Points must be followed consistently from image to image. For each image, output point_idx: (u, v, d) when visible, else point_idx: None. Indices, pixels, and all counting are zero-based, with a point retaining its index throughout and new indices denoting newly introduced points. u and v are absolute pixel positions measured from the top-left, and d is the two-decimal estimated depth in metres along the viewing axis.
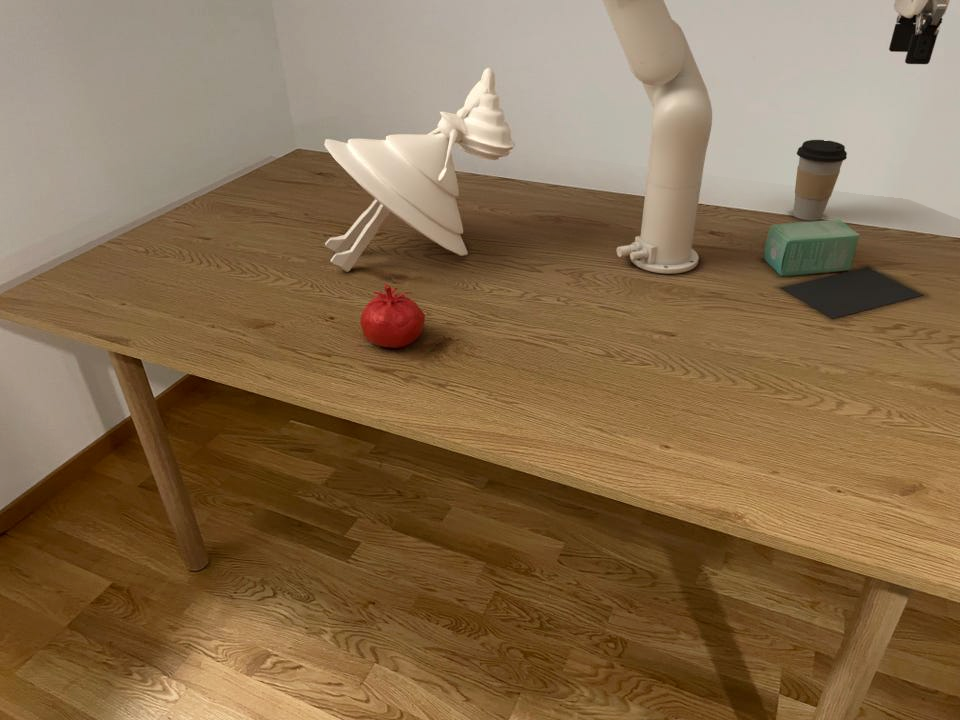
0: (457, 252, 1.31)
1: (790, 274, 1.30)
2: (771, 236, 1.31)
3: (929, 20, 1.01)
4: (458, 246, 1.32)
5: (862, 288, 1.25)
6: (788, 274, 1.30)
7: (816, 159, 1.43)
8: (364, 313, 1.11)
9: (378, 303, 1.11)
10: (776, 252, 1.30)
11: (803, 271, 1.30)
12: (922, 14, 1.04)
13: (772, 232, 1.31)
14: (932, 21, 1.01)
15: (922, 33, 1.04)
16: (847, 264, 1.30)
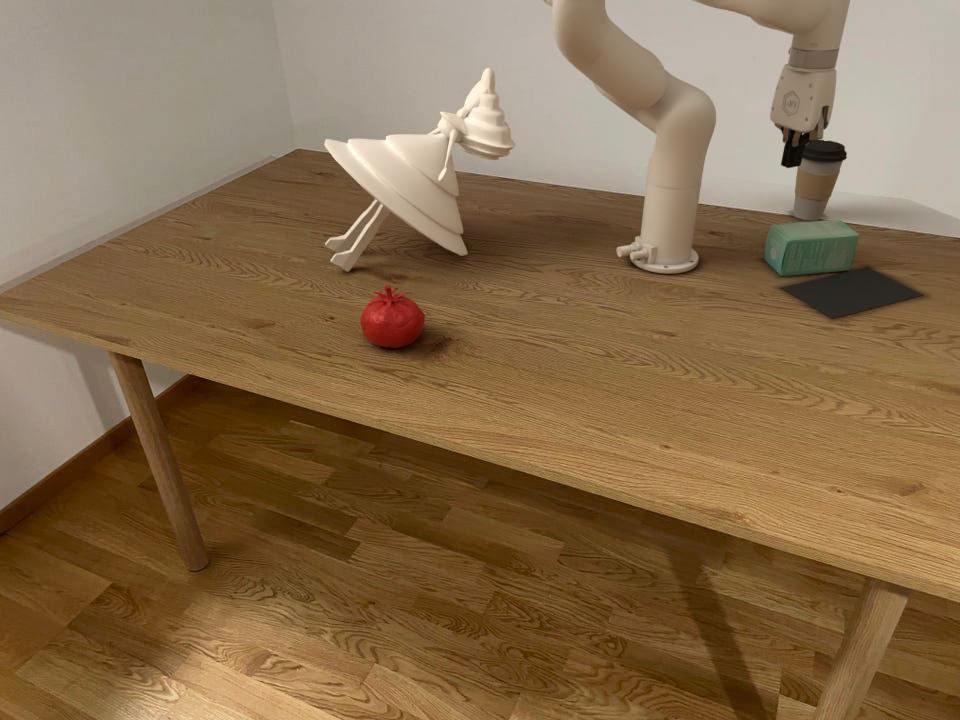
0: (457, 252, 1.31)
1: (790, 274, 1.30)
2: (771, 236, 1.31)
3: (806, 139, 1.26)
4: (458, 246, 1.32)
5: (862, 288, 1.25)
6: (788, 274, 1.30)
7: (816, 159, 1.43)
8: (364, 313, 1.11)
9: (378, 303, 1.11)
10: (776, 252, 1.30)
11: (803, 271, 1.30)
12: (802, 132, 1.26)
13: (772, 232, 1.31)
14: (808, 139, 1.26)
15: (799, 145, 1.28)
16: (847, 264, 1.30)
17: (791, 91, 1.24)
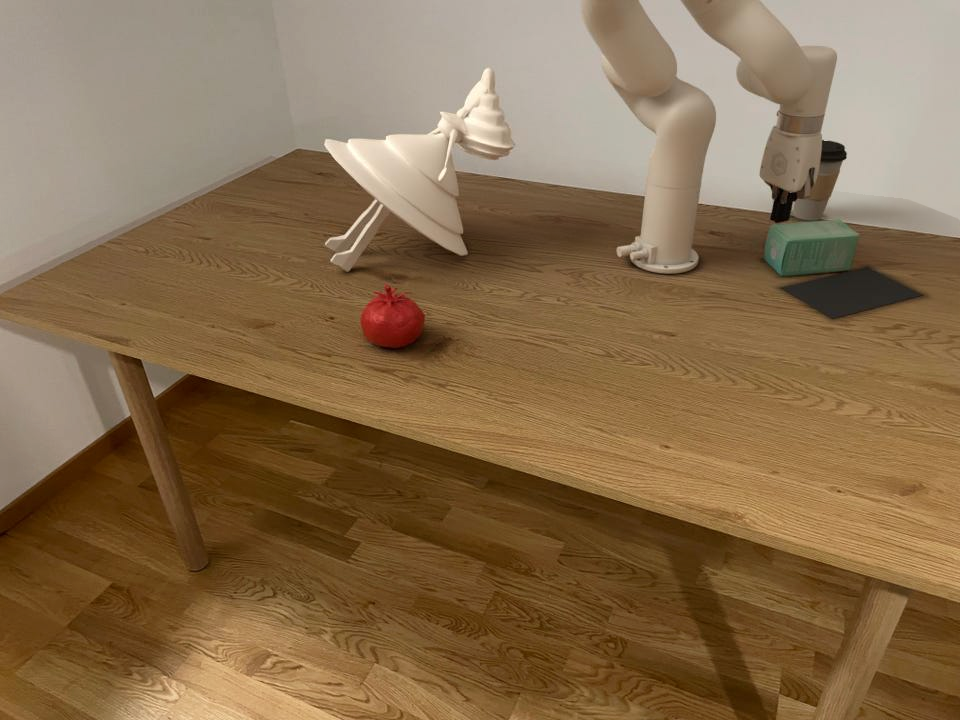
0: (457, 252, 1.31)
1: (790, 274, 1.30)
2: (771, 236, 1.31)
3: (794, 197, 1.31)
4: (458, 246, 1.32)
5: (862, 288, 1.25)
6: (788, 274, 1.30)
7: None
8: (364, 313, 1.11)
9: (378, 303, 1.11)
10: (776, 252, 1.30)
11: (803, 271, 1.30)
12: None
13: (772, 232, 1.31)
14: (795, 197, 1.32)
15: (787, 202, 1.33)
16: (847, 264, 1.30)
17: (779, 152, 1.29)
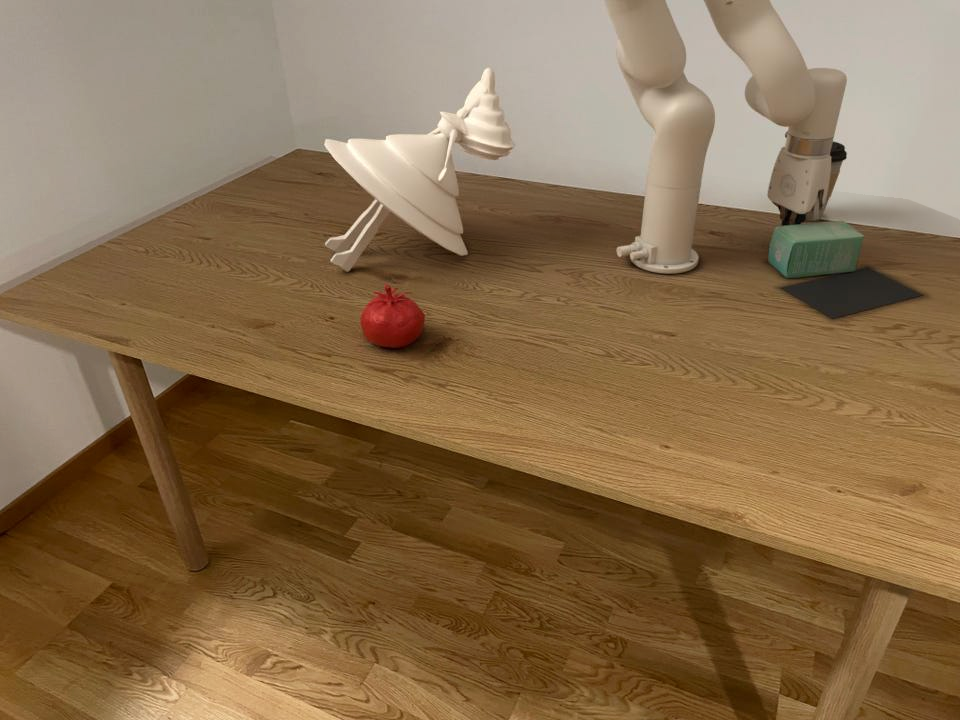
0: (457, 252, 1.31)
1: (796, 276, 1.29)
2: (776, 238, 1.31)
3: (802, 218, 1.31)
4: (458, 246, 1.32)
5: (862, 288, 1.25)
6: (793, 276, 1.29)
7: None
8: (364, 313, 1.11)
9: (378, 303, 1.11)
10: (781, 254, 1.29)
11: (808, 273, 1.29)
12: None
13: (776, 234, 1.30)
14: (804, 219, 1.31)
15: (795, 223, 1.33)
16: (852, 265, 1.29)
17: (788, 174, 1.29)
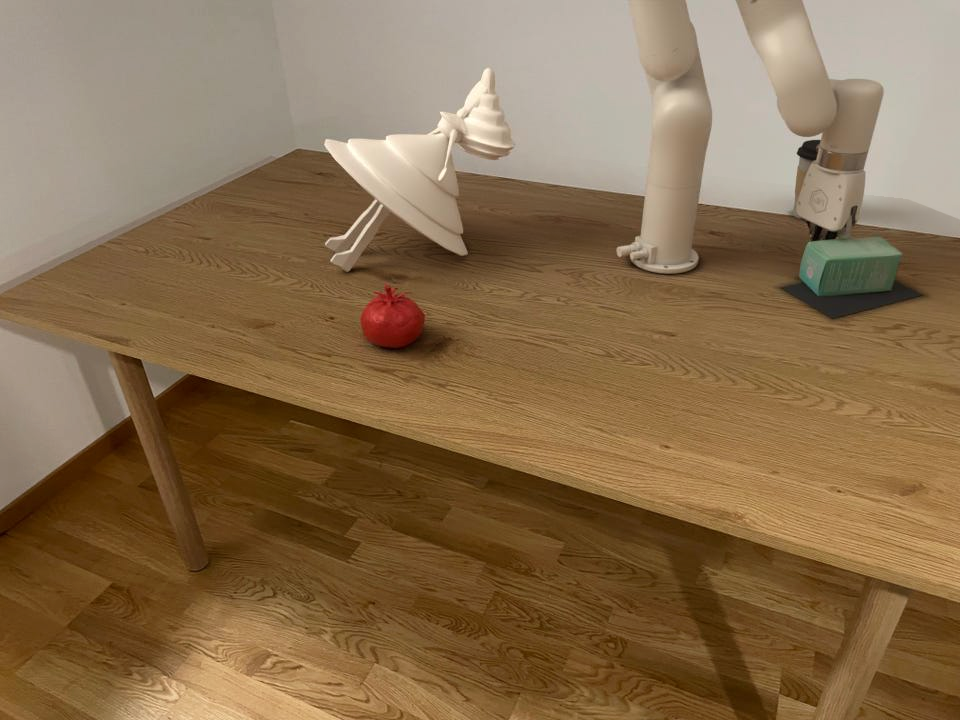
0: (457, 252, 1.31)
1: (828, 295, 1.23)
2: (808, 254, 1.24)
3: (834, 235, 1.25)
4: (458, 246, 1.32)
5: None
6: (826, 294, 1.23)
7: None
8: (364, 313, 1.11)
9: (378, 303, 1.11)
10: (813, 271, 1.23)
11: (841, 291, 1.23)
12: None
13: (809, 250, 1.24)
14: (835, 236, 1.25)
15: None
16: (888, 284, 1.23)
17: (819, 189, 1.23)
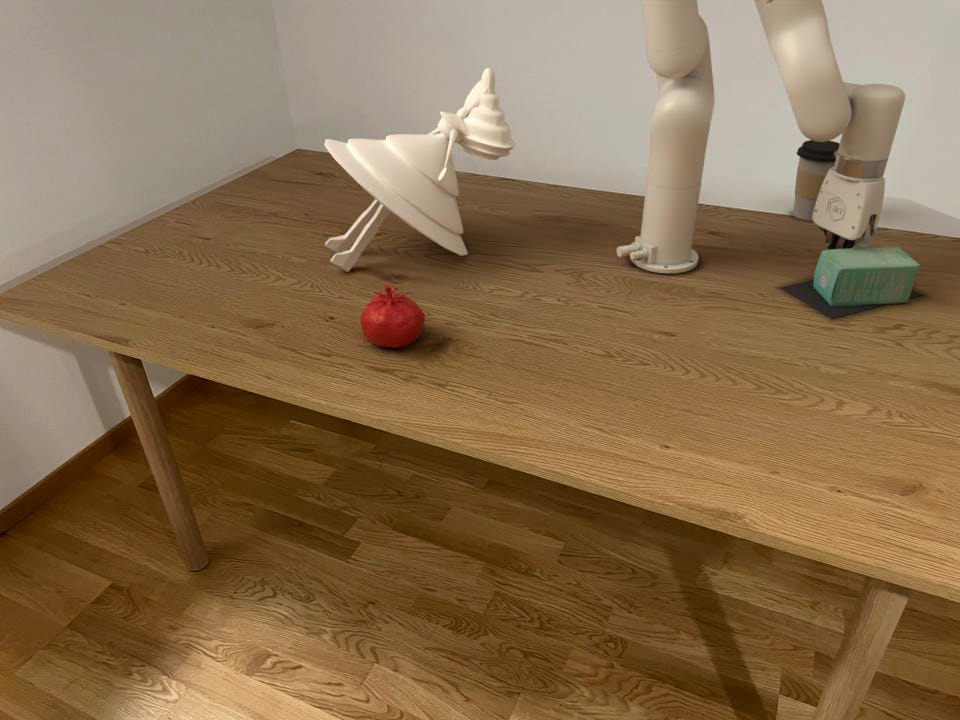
0: (457, 252, 1.31)
1: (841, 305, 1.20)
2: (822, 263, 1.22)
3: (851, 244, 1.22)
4: (458, 246, 1.32)
5: None
6: (839, 304, 1.20)
7: (816, 159, 1.43)
8: (364, 313, 1.11)
9: (378, 303, 1.11)
10: (826, 280, 1.20)
11: (855, 302, 1.20)
12: None
13: (823, 259, 1.21)
14: (853, 245, 1.22)
15: None
16: (905, 296, 1.19)
17: (837, 197, 1.20)
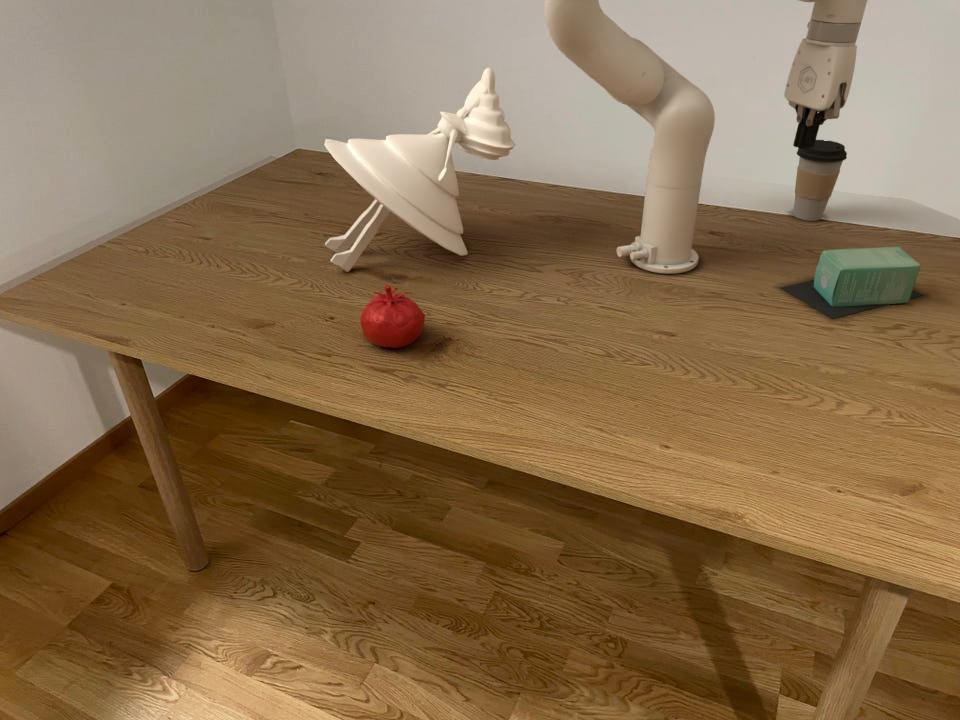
0: (457, 252, 1.31)
1: (842, 305, 1.20)
2: (823, 263, 1.21)
3: (821, 117, 1.20)
4: (458, 246, 1.32)
5: None
6: (839, 305, 1.20)
7: (816, 159, 1.43)
8: (364, 313, 1.11)
9: (378, 303, 1.11)
10: (827, 280, 1.20)
11: (856, 302, 1.20)
12: (817, 111, 1.20)
13: (823, 259, 1.21)
14: (823, 118, 1.20)
15: (813, 124, 1.22)
16: (906, 296, 1.19)
17: (808, 66, 1.18)
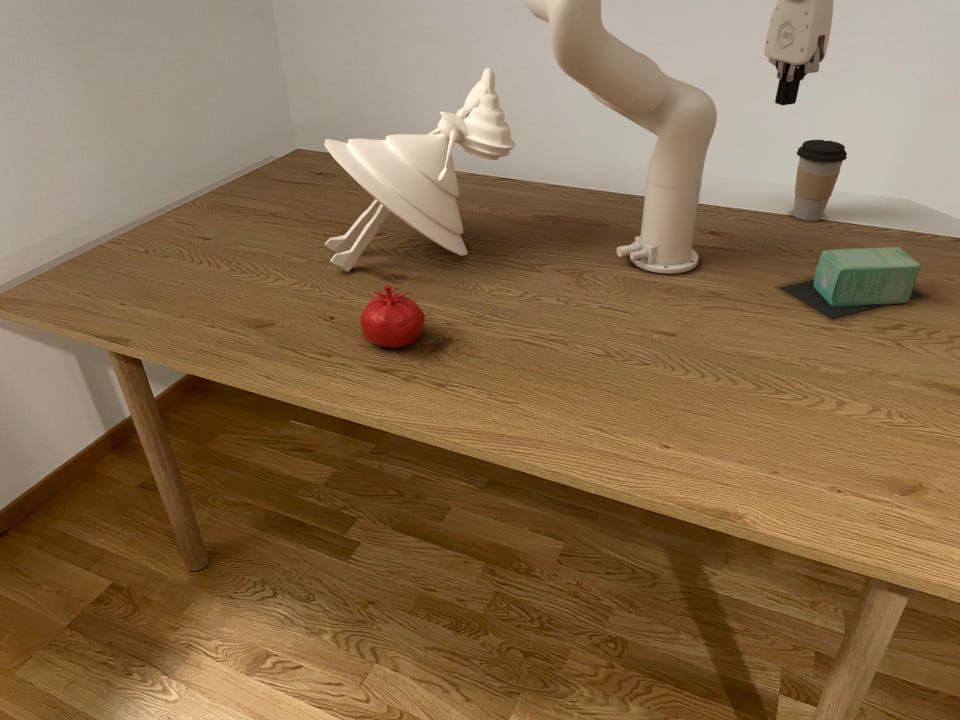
0: (457, 252, 1.31)
1: (842, 305, 1.20)
2: (823, 263, 1.21)
3: (801, 72, 1.21)
4: (458, 246, 1.32)
5: None
6: (839, 305, 1.20)
7: (816, 159, 1.43)
8: (364, 313, 1.11)
9: (378, 303, 1.11)
10: (827, 280, 1.20)
11: (856, 302, 1.20)
12: (797, 66, 1.21)
13: (823, 259, 1.21)
14: (803, 73, 1.21)
15: (794, 80, 1.23)
16: (906, 296, 1.19)
17: (786, 21, 1.19)
